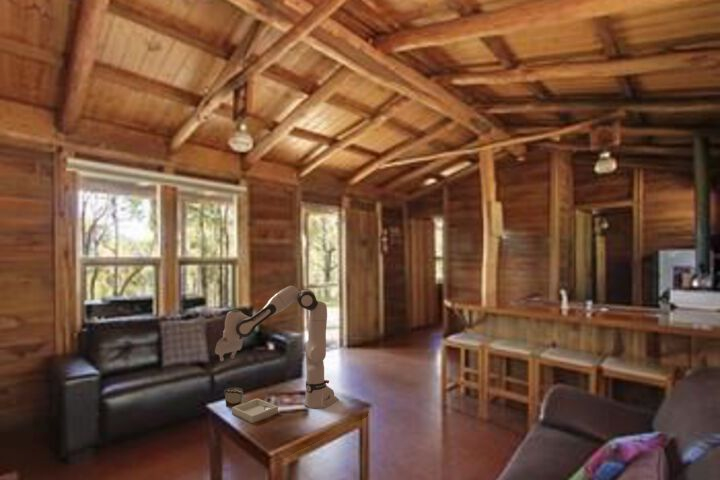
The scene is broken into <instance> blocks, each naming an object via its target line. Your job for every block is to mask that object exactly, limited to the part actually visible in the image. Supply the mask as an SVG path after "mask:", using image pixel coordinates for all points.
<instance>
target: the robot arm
mask: <svg viewBox="0 0 720 480" xmlns="http://www.w3.org/2000/svg"><path fill="white" fill-rule="evenodd" d="M296 303H297V304H298V306H300V307H301V308H303V309H305V310H308V311H309V319H308V330H307V334H308V340H307V342H306V343H305V365H306V368H305V369H306V381H305V395H304V396H305V397H304V400H305V401H304V402H305V404H306V405H307V406H308V407H307V408H309V409H318V408H319V409H320V408H321V409H322V408H325V409H326V408H328V407H329V406H331V405H333V404H334V403H335V402H337V401H339V398H338V397H337V396H336V395H335V392H334V390H333V389H332V388H331V387H329V385H327V384H330V380H328V379H325V364H324V360H325V358H326V355H327V322H328V308H327V307H328V306H327V303H325V302H324V301H319V300H317V297H316V295H315V293H314V291H313V290H311V289H307V288H306V289H304V288H303V289H298V288H297V287H295V285H288V286H286V287H284V288H282V289H281V290H279V291H278V292H276V293H275V294H274V295H272V297H270V298H269V300H268V301H267V302H266V304H265V305H264V306H263V307H262V308H261V310H259V311H258V312H256V313H255V314H254V315H252V316H249V315H246V314H245V313H243V312H242V311H241V310H240V309H233V310H230V311H228V312H227V313H226V317H225V319H224V320H225V321H224V330H223V333H222V337H221V338H220V339H219V340H217V342H216V346H215V348H214V353H215V354H216V355H218V356H219V361H220V362H223V361H224V360H225V358H224V355H225V354H229V353H231V354H230V359H234V358H235V355H236V354H237V351H240V350H242V347H243V339H244V338H247V337H250V336H251V335H252V334H253V332H254V330H255V329H256V328H257V327H259V325H261V324H262V323H263V322H265V321H266V320H267V319H269V318H270V317H272V316H275V315H277V314H279V313H281V312H282V311H284V310H286V309H287V308H289V307H290V306H291V305H293V304H296Z"/></svg>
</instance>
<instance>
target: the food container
mask: <svg viewBox="0 0 720 480" xmlns="http://www.w3.org/2000/svg"><path fill="white" fill-rule="evenodd" d="M223 394H224V397H225V398H224V399H225V401H224V402H225V407H229V408H232V407H234V406H237V405H240V404H242V398H243V394H244V390H243V388H240V387H229V388H225V389H224V391H223Z"/></svg>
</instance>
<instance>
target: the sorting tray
mask: <svg viewBox="0 0 720 480" xmlns="http://www.w3.org/2000/svg"><path fill="white" fill-rule="evenodd" d="M264 406H268V407H269V408H270V409H268V410H264ZM277 414H279V406H278V405H275V404H272V403H270V402H267V401H265V400H262V399H260V398H258V397H257V398H255V399H252V400H248V401H246V402H243V403H241V404H240V405H237V406H234V407H231V415H233V416H236V417H237V418H240V419H241V420H244V421H245V420H246V422H248V423H250V424H255V423H258V422H259V421H260V422H261V421H262V420H265V419H267V418H270V417H273V416H275V415H277Z"/></svg>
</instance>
